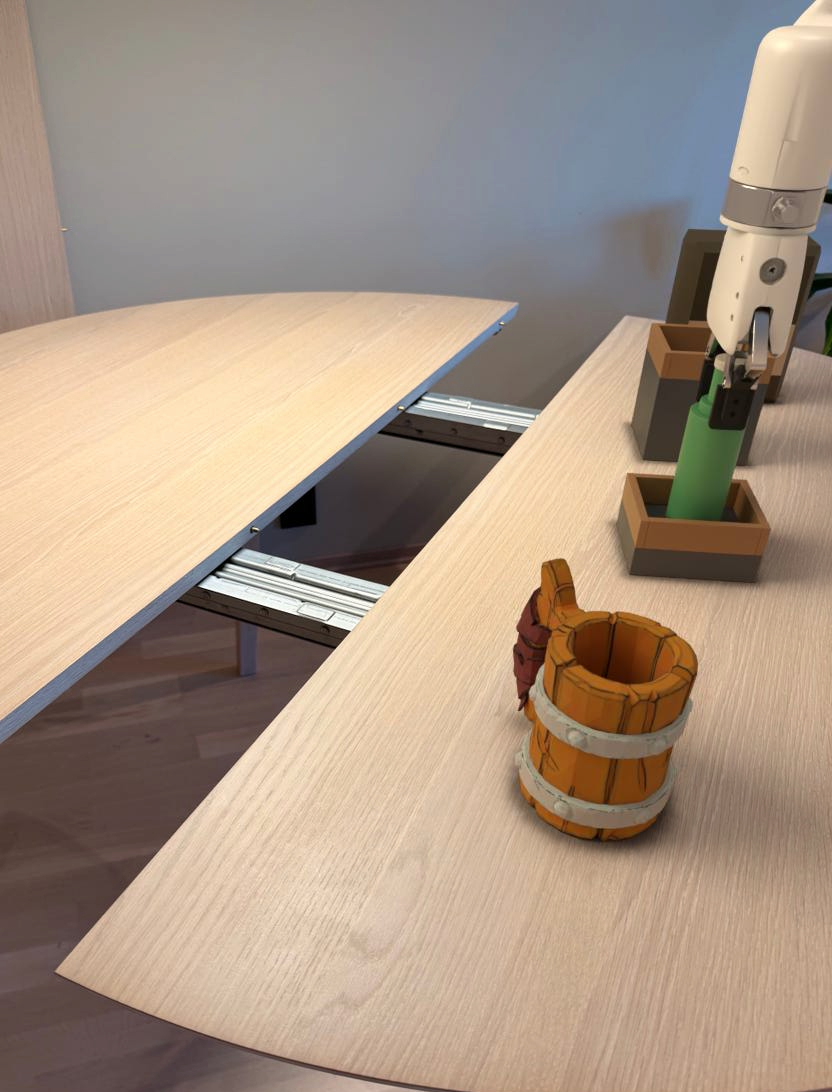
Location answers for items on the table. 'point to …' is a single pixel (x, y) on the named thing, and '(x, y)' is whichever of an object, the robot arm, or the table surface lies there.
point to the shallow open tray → (690, 533)
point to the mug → (598, 711)
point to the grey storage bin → (680, 390)
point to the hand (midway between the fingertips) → (719, 413)
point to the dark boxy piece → (697, 283)
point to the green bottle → (705, 460)
